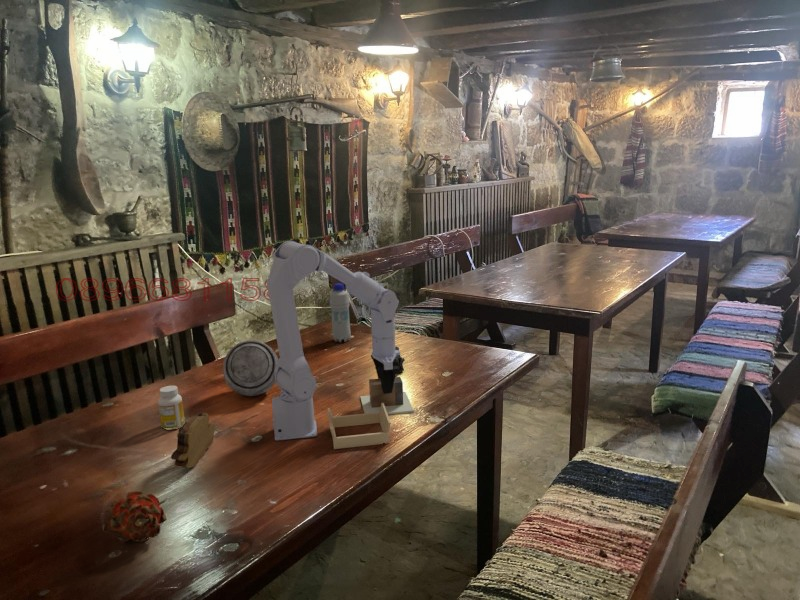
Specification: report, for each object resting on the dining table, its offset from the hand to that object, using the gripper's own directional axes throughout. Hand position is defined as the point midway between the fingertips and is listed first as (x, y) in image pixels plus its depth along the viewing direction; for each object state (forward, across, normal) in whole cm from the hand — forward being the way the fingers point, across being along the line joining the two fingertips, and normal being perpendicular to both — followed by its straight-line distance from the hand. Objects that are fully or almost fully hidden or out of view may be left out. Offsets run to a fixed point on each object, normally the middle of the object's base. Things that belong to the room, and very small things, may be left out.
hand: (385, 387), depth 153 cm
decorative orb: (+5, +16, +34) cm, 38 cm away
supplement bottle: (+5, 0, +52) cm, 52 cm away
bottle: (+5, +57, +7) cm, 58 cm away
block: (+4, 0, 0) cm, 4 cm away
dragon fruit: (+5, -44, +50) cm, 67 cm away
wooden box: (+5, -15, +8) cm, 18 cm away
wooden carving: (+5, -19, +44) cm, 48 cm away
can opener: (+5, +28, -7) cm, 29 cm away
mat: (+5, 0, 0) cm, 5 cm away
